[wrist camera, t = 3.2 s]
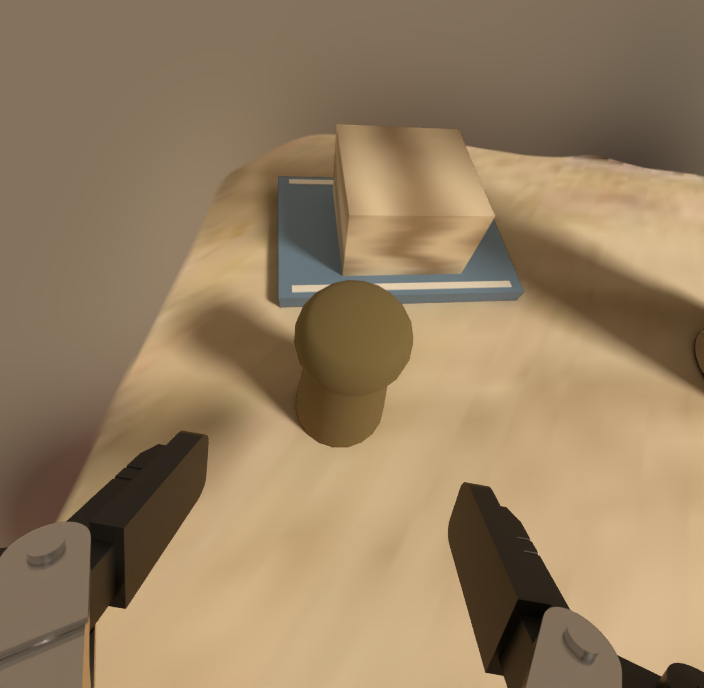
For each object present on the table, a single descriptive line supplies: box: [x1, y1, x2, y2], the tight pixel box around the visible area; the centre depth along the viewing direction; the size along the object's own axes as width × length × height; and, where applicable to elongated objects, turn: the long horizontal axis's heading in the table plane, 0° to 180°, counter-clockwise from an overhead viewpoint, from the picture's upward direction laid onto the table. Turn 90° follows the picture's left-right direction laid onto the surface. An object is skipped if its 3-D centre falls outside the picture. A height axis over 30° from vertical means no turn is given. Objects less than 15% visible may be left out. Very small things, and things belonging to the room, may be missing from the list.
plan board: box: [278, 176, 524, 307], centre depth 30 cm, size 20×14×1 cm
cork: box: [294, 280, 413, 447], centre depth 18 cm, size 6×6×11 cm
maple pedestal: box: [333, 124, 495, 276], centre depth 27 cm, size 10×10×6 cm
